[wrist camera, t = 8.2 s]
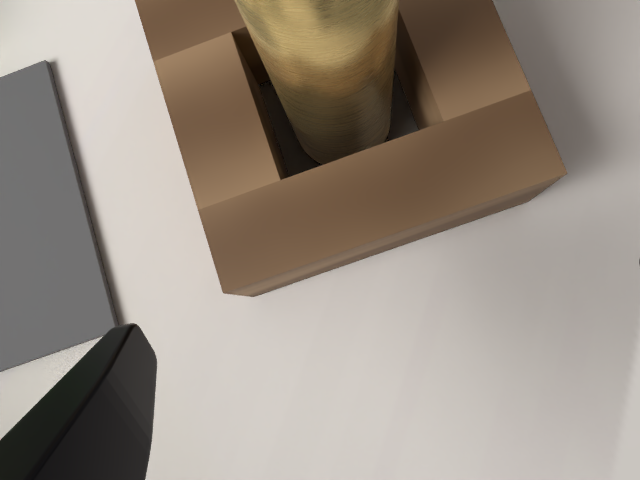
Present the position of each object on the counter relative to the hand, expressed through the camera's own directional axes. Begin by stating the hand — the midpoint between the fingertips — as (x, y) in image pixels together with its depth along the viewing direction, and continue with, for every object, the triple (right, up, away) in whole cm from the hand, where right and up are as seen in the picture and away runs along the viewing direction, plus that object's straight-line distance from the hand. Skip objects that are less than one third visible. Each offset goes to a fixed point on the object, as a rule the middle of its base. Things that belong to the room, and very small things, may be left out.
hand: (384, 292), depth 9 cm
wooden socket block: (0, +6, +11) cm, 13 cm away
